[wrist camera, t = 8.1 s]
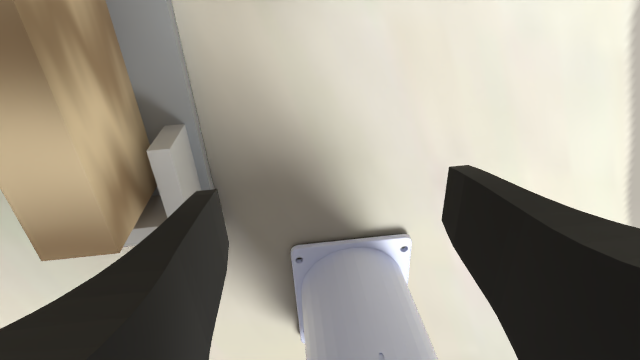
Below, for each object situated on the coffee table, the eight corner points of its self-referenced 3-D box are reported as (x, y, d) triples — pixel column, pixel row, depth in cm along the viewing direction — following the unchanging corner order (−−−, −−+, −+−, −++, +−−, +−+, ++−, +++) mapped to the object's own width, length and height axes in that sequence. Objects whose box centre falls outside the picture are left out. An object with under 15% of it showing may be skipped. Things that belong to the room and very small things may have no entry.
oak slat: (160, 179, 20) (119, 252, 15) (103, 184, 20) (41, 260, 15) (29, -248, 12) (-163, -417, 7) (-69, -246, 12) (-343, -418, 7)
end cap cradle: (222, 225, 23) (213, 267, 19) (88, 238, 22) (56, 285, 19) (72, -434, 11) (-18, -611, 7) (-225, -436, 10) (-461, -629, 7)
